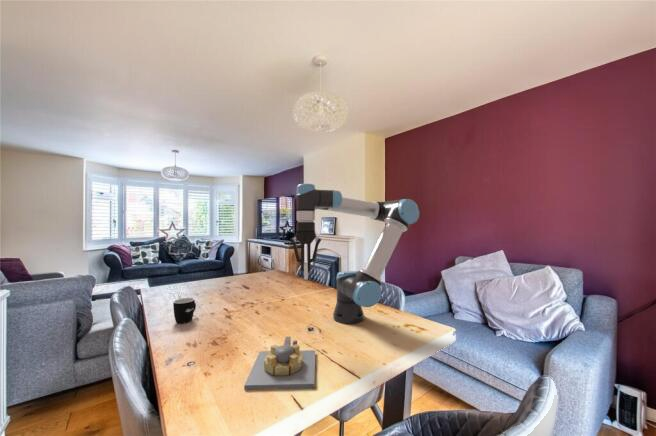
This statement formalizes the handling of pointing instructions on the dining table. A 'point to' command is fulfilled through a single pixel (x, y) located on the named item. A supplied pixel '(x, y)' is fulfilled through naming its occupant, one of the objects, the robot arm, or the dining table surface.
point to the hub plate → (296, 380)
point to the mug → (184, 310)
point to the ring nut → (284, 368)
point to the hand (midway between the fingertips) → (305, 278)
